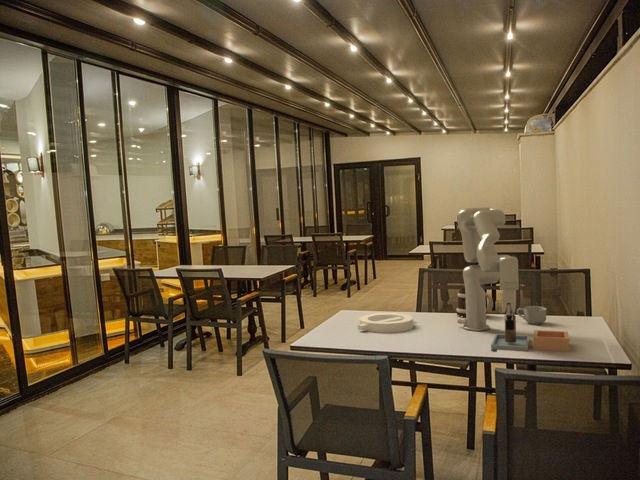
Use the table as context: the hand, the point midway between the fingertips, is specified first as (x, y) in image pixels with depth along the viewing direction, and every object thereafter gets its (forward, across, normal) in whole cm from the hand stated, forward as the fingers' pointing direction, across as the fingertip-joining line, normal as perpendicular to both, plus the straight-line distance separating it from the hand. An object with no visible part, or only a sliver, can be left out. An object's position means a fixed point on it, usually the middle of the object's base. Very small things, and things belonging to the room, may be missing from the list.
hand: (510, 327), depth 208 cm
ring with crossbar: (+9, -25, -63) cm, 68 cm away
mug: (+8, -63, -23) cm, 67 cm away
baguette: (+6, 0, 0) cm, 6 cm away
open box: (+8, 0, +16) cm, 17 cm away
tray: (+8, 0, 0) cm, 8 cm away
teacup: (+8, -50, +7) cm, 51 cm away
